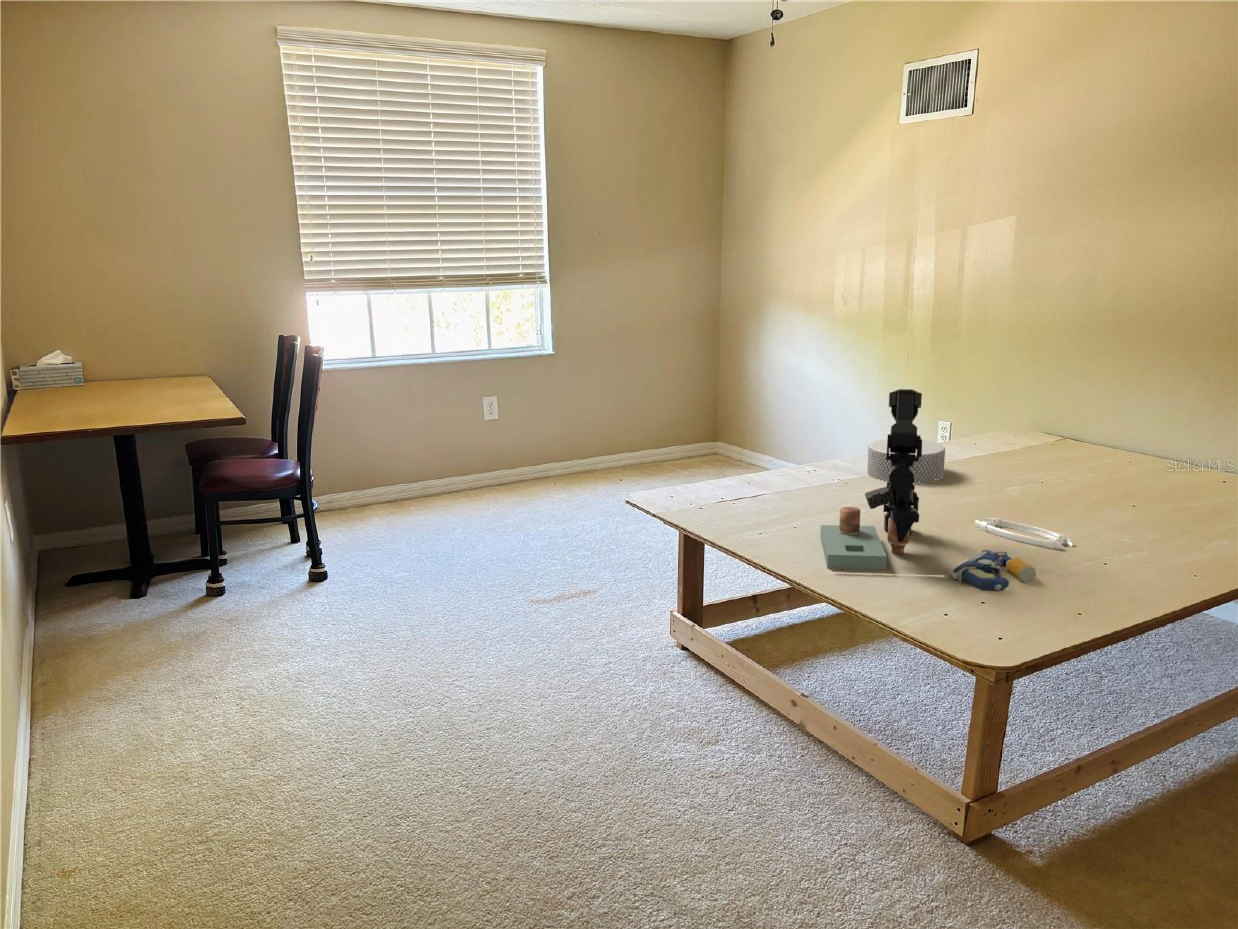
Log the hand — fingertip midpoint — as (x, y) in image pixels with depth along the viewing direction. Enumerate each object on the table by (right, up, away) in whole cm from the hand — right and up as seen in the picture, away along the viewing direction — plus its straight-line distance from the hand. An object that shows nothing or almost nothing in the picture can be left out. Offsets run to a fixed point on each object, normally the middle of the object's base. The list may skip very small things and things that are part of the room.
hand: (898, 538), depth 213 cm
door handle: (+37, -1, +12) cm, 39 cm away
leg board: (-11, -4, +3) cm, 12 cm away
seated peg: (-10, -2, +9) cm, 14 cm away
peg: (0, -4, +1) cm, 4 cm away
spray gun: (+18, -8, -15) cm, 25 cm away
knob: (+28, +15, +76) cm, 83 cm away
